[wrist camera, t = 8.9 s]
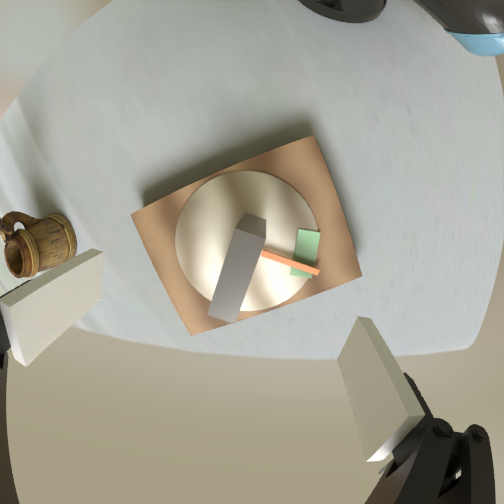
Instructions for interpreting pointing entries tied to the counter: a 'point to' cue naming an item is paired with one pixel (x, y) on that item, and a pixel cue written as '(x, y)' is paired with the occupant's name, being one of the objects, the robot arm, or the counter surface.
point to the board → (277, 233)
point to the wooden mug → (36, 243)
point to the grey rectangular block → (244, 267)
